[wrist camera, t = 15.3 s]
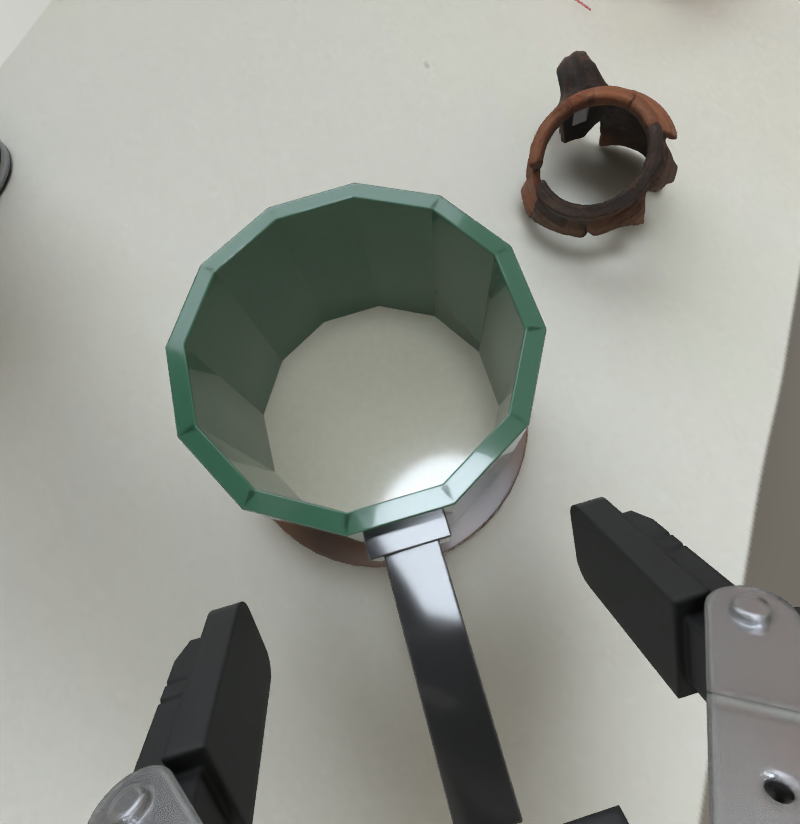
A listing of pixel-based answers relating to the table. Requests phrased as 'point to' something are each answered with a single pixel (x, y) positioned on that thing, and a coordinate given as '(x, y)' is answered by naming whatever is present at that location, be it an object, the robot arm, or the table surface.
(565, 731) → the table surface
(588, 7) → the figurine
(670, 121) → the brown ring-shaped piece
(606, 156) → the table surface
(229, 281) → the pot
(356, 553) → the disc
